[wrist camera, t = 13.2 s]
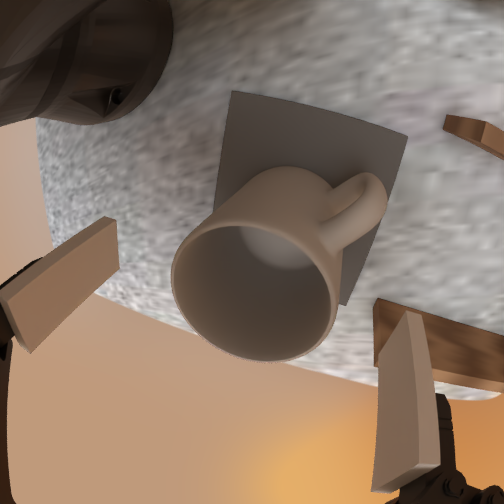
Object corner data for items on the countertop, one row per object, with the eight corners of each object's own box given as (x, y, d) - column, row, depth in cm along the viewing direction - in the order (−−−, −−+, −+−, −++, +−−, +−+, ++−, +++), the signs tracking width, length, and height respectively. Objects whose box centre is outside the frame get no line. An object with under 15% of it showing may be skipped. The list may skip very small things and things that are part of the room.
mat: (208, 259, 28) (206, 261, 28) (233, 90, 21) (231, 90, 20) (345, 303, 26) (345, 305, 26) (407, 136, 18) (408, 136, 18)
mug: (281, 283, 27) (241, 380, 17) (217, 206, 25) (140, 275, 16) (403, 210, 21) (439, 296, 11) (337, 113, 19) (329, 121, 10)
